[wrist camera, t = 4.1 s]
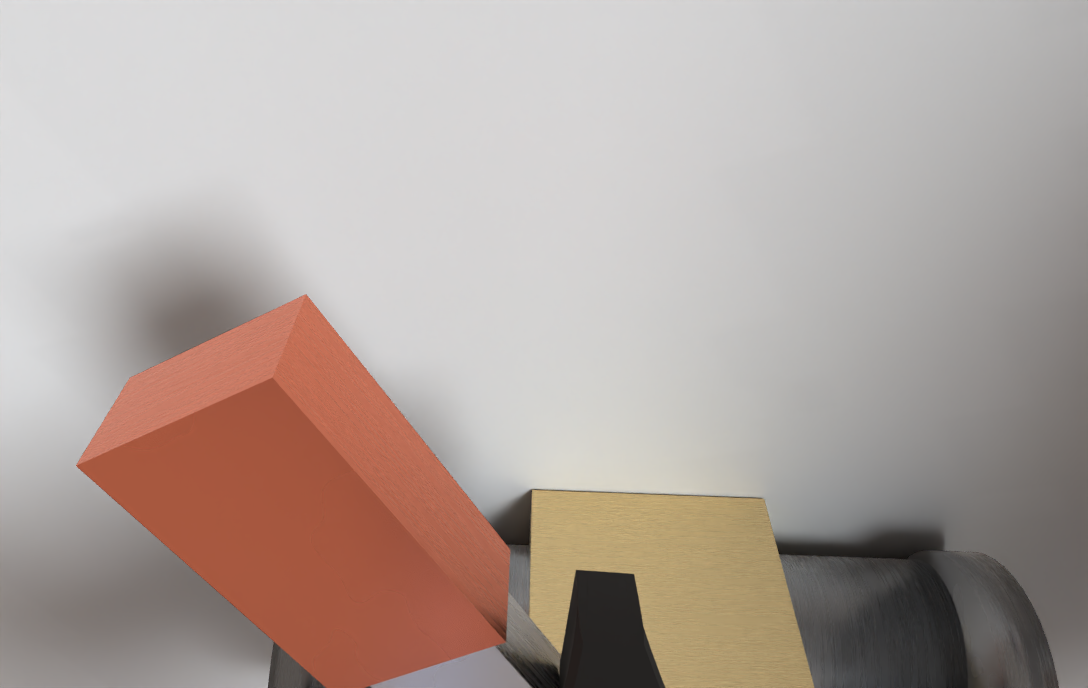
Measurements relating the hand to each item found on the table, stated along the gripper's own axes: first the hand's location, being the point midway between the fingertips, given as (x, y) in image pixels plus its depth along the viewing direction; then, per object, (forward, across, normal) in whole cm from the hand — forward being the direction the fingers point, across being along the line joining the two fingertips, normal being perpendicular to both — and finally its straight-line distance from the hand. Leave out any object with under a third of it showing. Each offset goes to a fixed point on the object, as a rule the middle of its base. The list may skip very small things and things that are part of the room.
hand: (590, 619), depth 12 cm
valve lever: (0, +1, +2) cm, 2 cm away
